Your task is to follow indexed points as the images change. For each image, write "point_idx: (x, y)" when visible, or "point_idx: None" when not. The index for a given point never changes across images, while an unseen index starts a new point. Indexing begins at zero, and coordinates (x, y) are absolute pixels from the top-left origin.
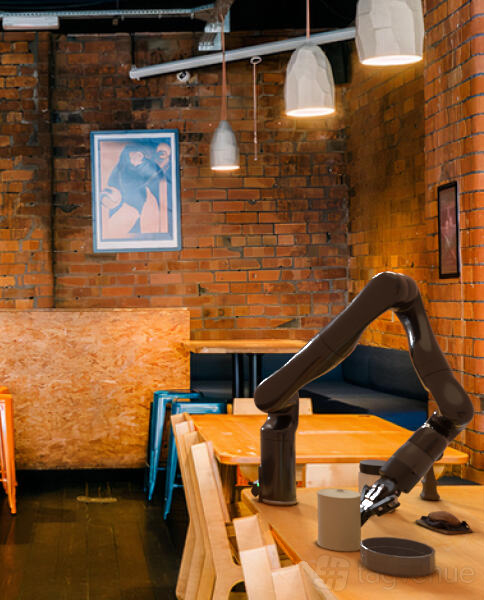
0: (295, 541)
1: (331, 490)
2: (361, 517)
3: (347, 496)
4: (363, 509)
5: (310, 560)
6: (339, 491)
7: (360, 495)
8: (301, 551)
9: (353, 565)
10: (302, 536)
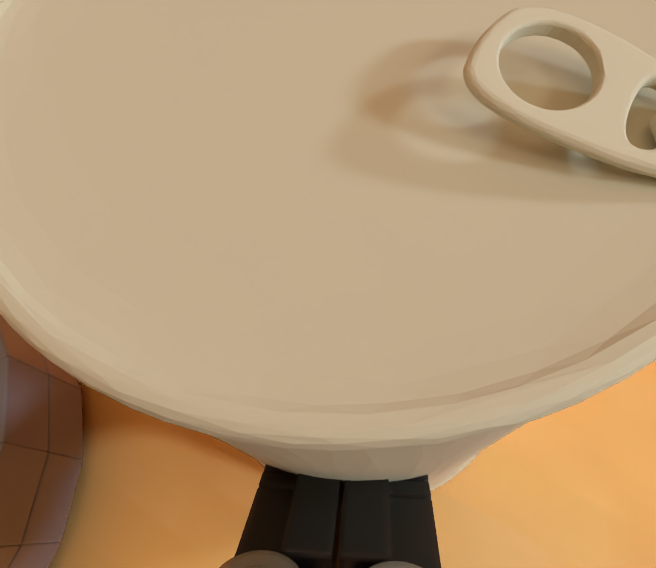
0: None
1: (610, 1)
2: (267, 482)
3: (88, 71)
4: (298, 551)
5: None
6: (519, 91)
7: (19, 328)
8: None
9: None
10: None
